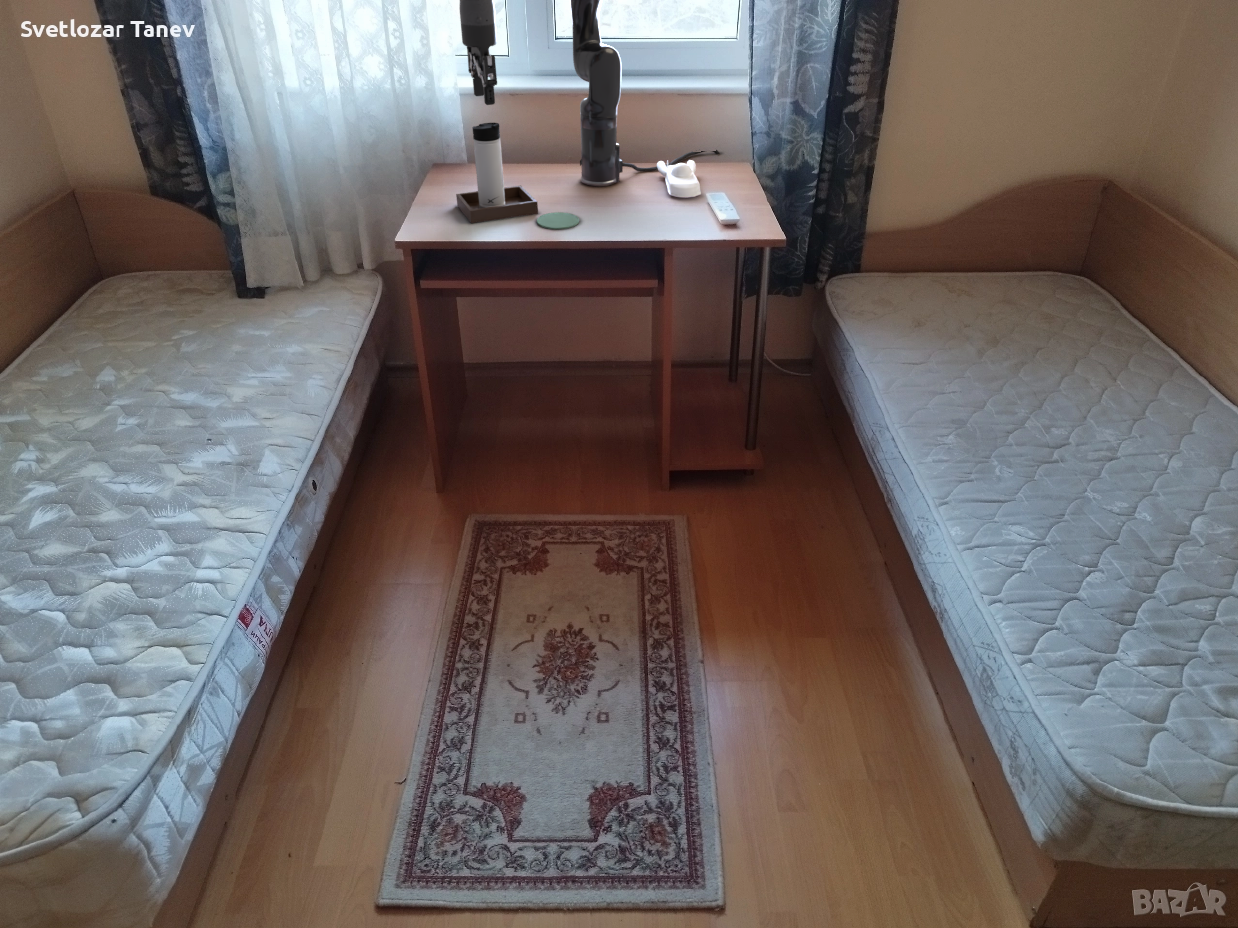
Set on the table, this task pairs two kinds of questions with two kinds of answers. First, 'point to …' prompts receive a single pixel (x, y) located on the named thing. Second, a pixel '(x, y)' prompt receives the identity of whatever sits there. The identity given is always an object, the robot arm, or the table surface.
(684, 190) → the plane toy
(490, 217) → the tray
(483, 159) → the travel mug
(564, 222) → the coaster
